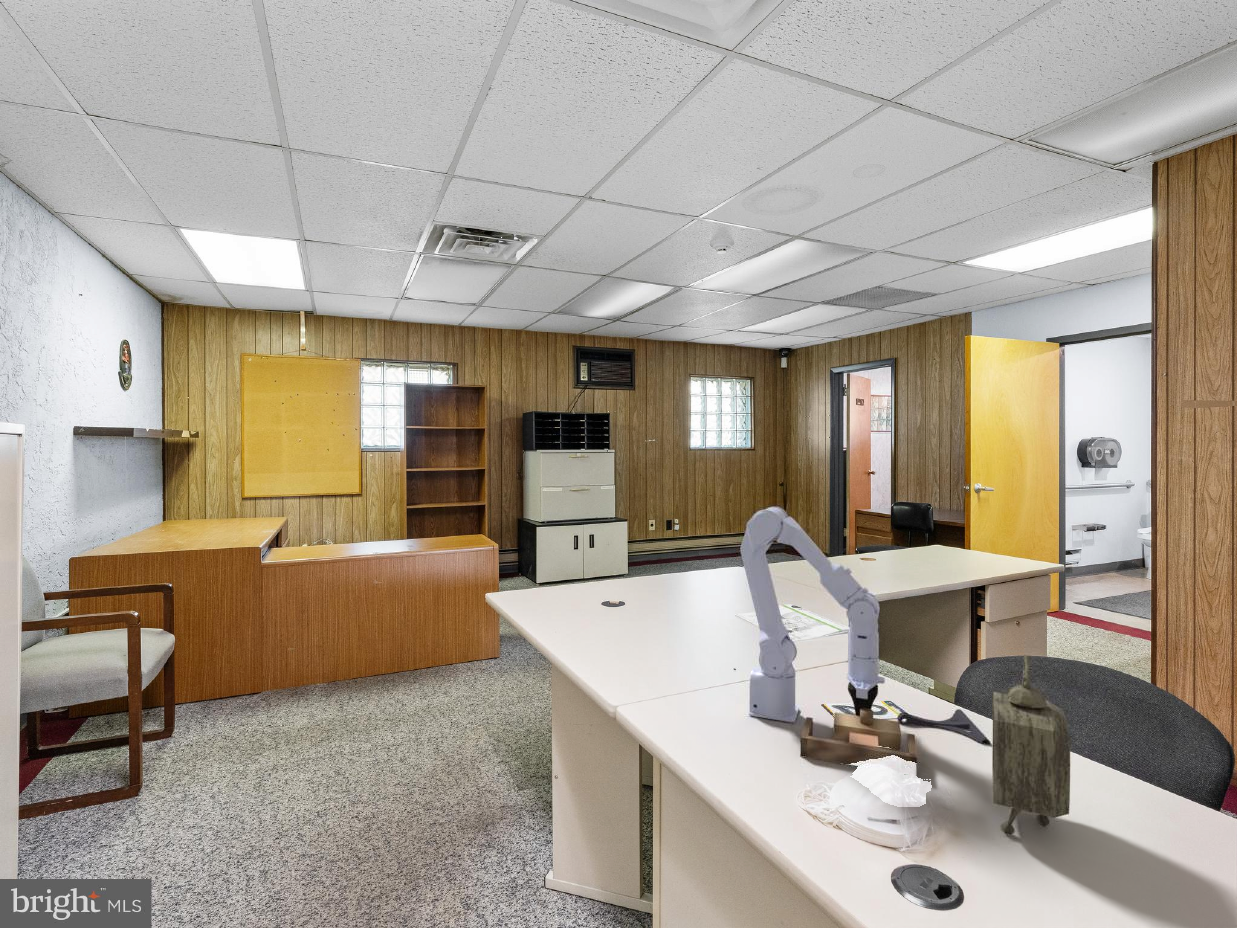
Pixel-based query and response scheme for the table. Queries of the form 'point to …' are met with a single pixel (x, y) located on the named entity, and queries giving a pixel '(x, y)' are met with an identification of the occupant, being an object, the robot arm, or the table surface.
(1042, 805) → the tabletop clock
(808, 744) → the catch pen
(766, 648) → the robot arm
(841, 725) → the wooden box with knob
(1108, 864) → the table surface
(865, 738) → the tile
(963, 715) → the bracket
